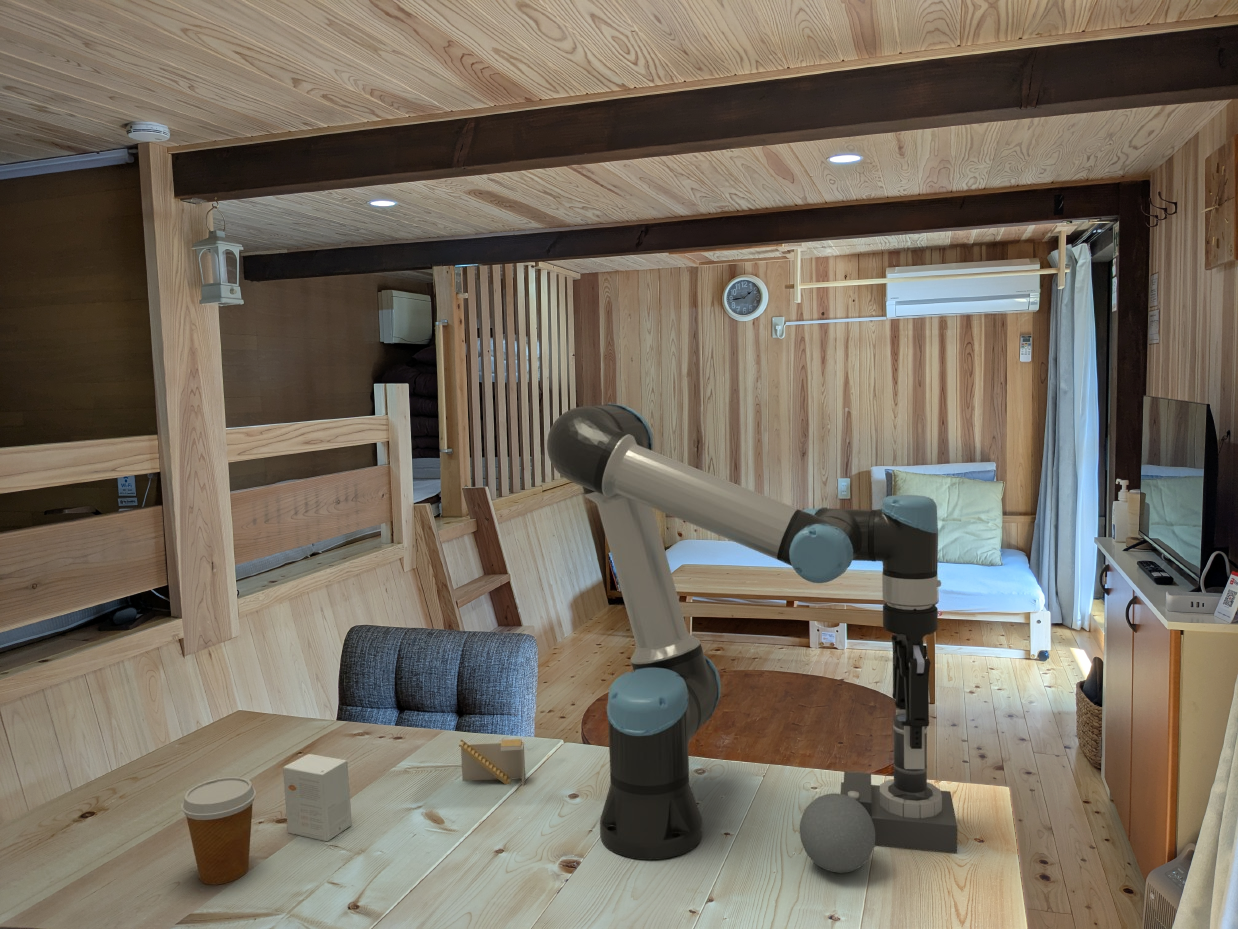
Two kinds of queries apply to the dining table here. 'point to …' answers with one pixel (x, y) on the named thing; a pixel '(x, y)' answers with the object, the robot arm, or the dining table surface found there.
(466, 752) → the model
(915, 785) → the lens
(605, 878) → the dining table surface
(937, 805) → the camera body
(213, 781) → the disposable coffee cup
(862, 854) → the decorative stone
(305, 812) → the small box
